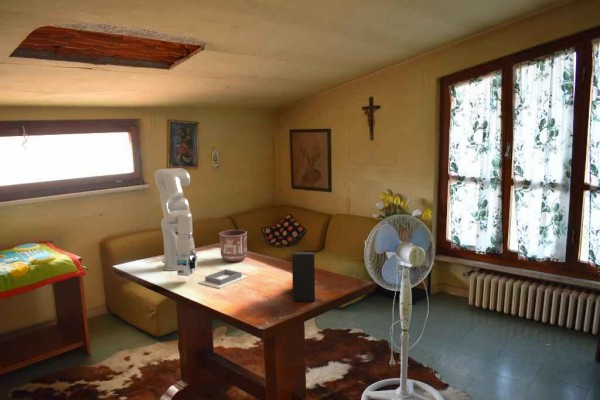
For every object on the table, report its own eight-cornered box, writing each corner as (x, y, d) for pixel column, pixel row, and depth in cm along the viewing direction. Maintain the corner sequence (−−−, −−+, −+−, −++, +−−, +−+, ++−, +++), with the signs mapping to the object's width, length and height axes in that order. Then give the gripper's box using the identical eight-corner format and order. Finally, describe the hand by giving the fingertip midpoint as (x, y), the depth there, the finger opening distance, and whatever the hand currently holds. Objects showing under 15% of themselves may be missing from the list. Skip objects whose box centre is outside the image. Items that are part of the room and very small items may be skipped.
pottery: (218, 257, 294) (217, 230, 291) (245, 255, 299) (244, 228, 297) (222, 265, 278) (221, 237, 275) (250, 262, 283) (249, 234, 280)
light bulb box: (188, 276, 239) (187, 257, 237) (176, 275, 240) (175, 256, 238) (197, 270, 249) (196, 251, 247) (186, 269, 251) (185, 250, 249)
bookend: (293, 285, 238) (292, 242, 235) (313, 285, 238) (313, 242, 235) (292, 302, 215) (291, 254, 211) (315, 302, 215) (314, 254, 212)
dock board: (198, 283, 244) (198, 277, 244) (227, 272, 262) (226, 267, 261) (220, 288, 235) (219, 282, 235) (248, 277, 253) (247, 271, 252)
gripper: (169, 234, 243) (170, 265, 246) (191, 239, 233) (192, 271, 236) (180, 232, 249) (181, 262, 252) (202, 236, 239) (203, 268, 242)
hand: (186, 266), depth 244 cm, fingers closed on light bulb box, 8 cm apart
